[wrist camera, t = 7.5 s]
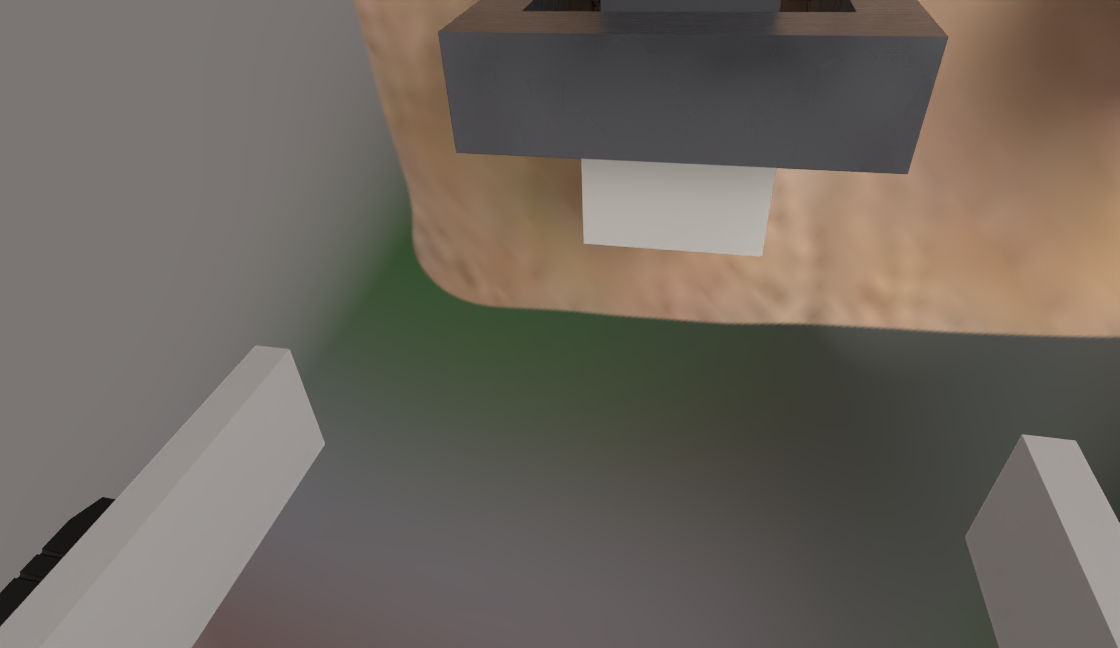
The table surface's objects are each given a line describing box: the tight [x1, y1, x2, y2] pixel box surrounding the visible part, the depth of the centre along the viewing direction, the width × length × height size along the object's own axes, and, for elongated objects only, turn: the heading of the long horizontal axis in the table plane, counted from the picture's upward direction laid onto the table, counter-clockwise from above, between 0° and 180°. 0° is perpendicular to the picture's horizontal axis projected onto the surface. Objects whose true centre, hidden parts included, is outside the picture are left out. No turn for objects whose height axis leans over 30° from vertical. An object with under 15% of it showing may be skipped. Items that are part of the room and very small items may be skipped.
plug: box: [581, 0, 781, 257], centre depth 22 cm, size 14×6×8 cm, turn 3°
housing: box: [438, 0, 948, 174], centre depth 20 cm, size 3×11×12 cm, turn 93°
